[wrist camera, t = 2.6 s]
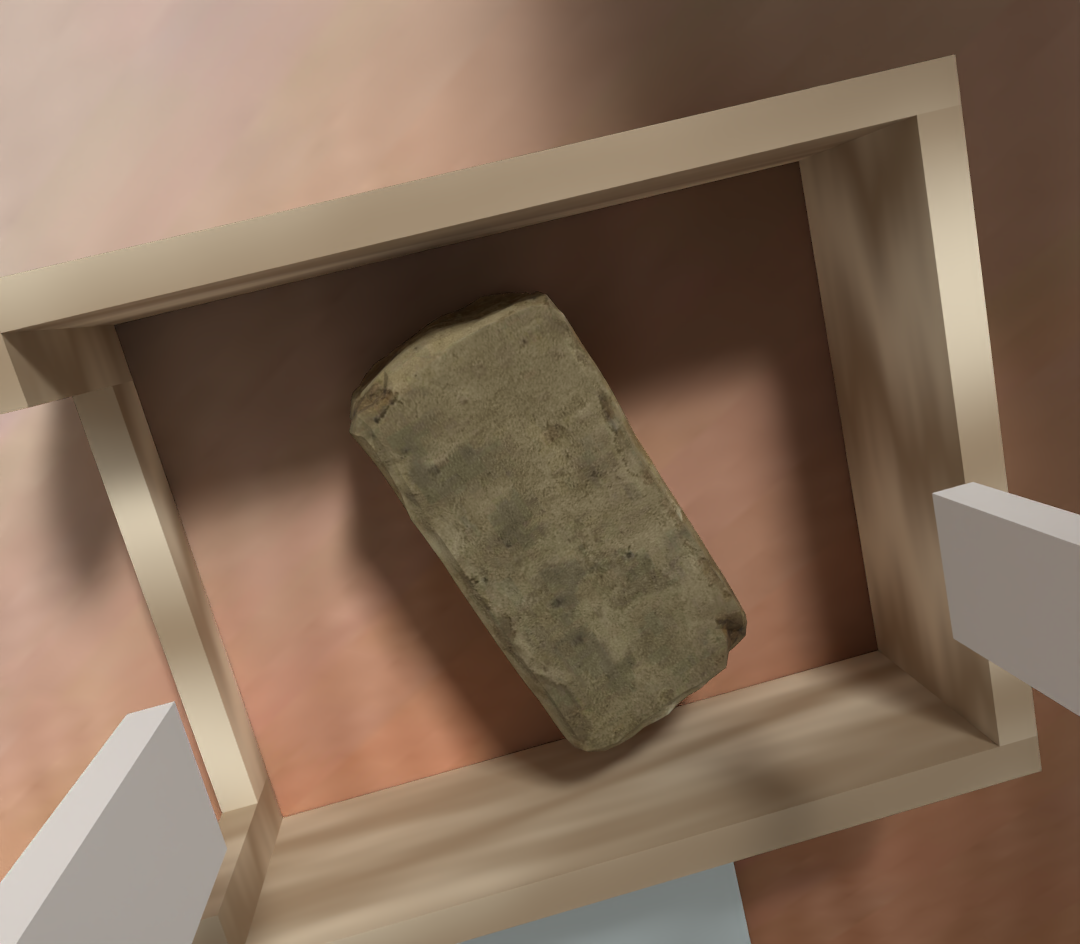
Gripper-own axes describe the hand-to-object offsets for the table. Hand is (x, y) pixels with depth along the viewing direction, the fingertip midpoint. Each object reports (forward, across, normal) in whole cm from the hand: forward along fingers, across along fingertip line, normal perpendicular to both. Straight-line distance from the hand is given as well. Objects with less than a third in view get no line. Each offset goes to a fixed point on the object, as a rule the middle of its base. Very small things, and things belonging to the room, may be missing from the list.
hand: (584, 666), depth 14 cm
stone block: (+11, +1, 0) cm, 11 cm away
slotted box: (+11, 0, 0) cm, 11 cm away
